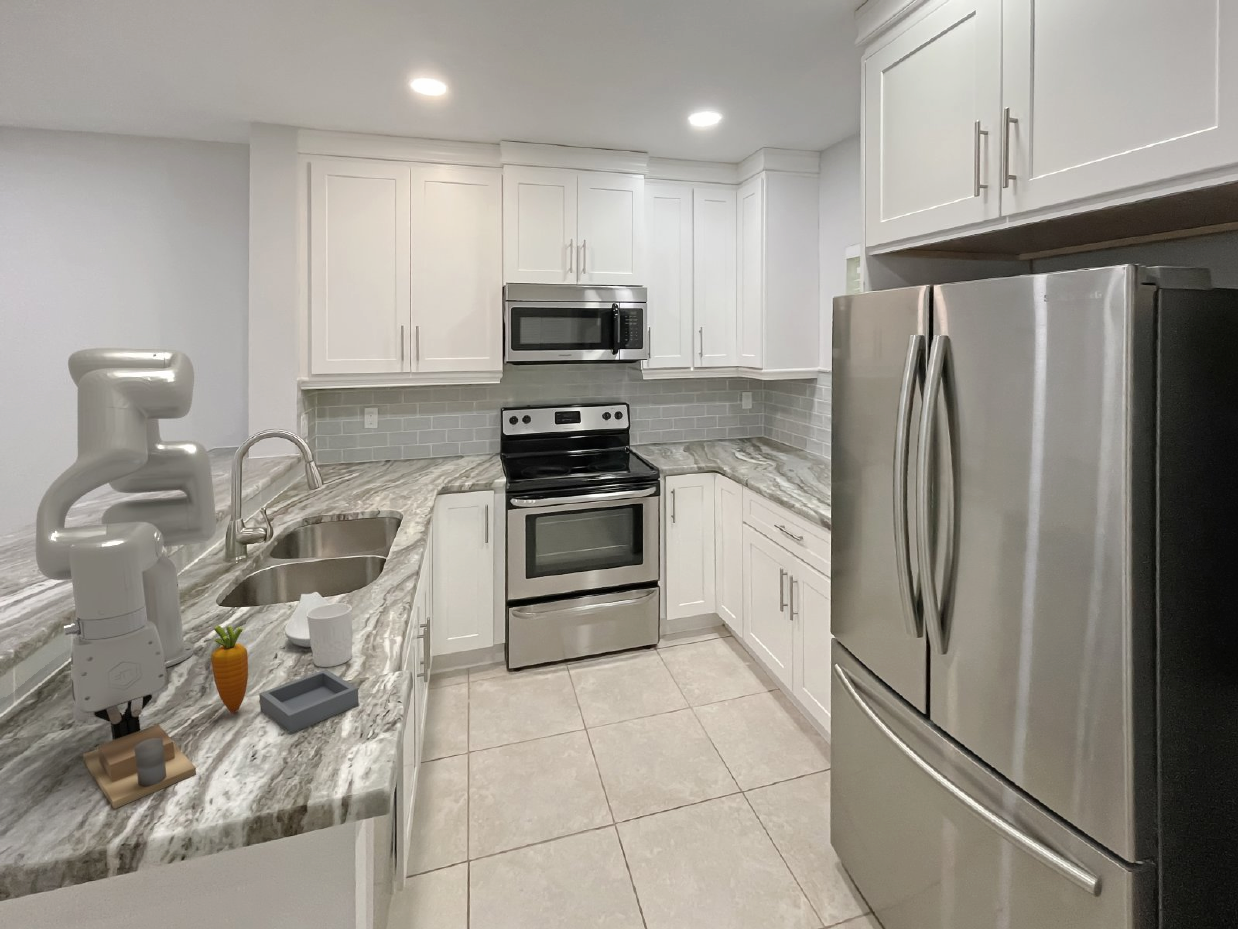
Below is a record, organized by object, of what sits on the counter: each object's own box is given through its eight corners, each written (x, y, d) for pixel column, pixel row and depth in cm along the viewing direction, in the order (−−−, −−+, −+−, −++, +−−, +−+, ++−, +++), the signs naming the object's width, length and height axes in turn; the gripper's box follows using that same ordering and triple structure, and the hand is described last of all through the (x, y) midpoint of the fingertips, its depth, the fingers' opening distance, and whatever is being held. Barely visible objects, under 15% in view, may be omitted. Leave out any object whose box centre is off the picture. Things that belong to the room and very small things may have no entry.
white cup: (340, 670, 115) (336, 619, 114) (301, 668, 116) (297, 617, 115) (362, 652, 123) (359, 604, 122) (326, 650, 124) (322, 602, 123)
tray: (260, 710, 101) (259, 693, 101) (327, 685, 110) (325, 669, 109) (290, 734, 94) (289, 715, 94) (358, 705, 103) (357, 688, 102)
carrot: (259, 708, 102) (252, 621, 100) (231, 723, 97) (223, 633, 95) (237, 703, 104) (229, 617, 102) (209, 718, 99) (200, 629, 97)
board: (83, 761, 88) (78, 721, 87) (159, 733, 95) (155, 696, 94) (113, 809, 78) (108, 765, 77) (196, 774, 85) (192, 733, 84)
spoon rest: (353, 646, 127) (351, 612, 126) (289, 660, 120) (286, 625, 119) (334, 610, 146) (332, 581, 145) (278, 621, 140) (276, 591, 139)
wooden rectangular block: (99, 762, 86) (97, 745, 85) (160, 740, 91) (158, 724, 91) (112, 782, 81) (110, 765, 81) (174, 758, 87) (173, 741, 86)
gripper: (47, 647, 79) (64, 779, 81) (184, 613, 90) (195, 729, 93) (36, 632, 83) (53, 756, 86) (168, 601, 95) (179, 711, 97)
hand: (127, 742), depth 89 cm, fingers closed
